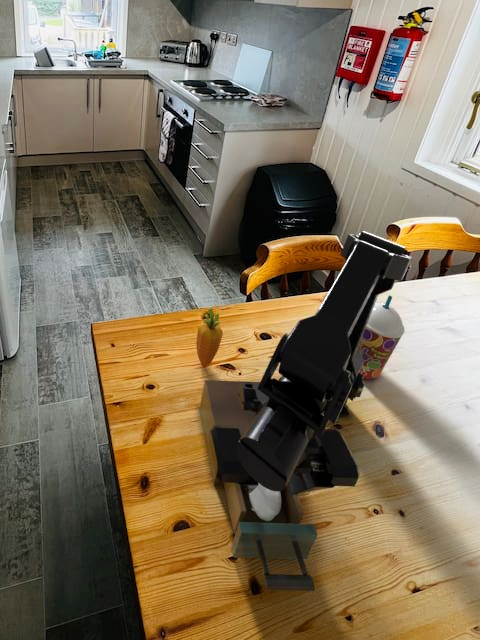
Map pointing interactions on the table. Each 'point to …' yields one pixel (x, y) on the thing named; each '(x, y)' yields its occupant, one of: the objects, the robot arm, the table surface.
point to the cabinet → (222, 411)
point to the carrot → (208, 338)
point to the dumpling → (265, 502)
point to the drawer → (272, 537)
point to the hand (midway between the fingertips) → (268, 490)
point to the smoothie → (380, 338)
